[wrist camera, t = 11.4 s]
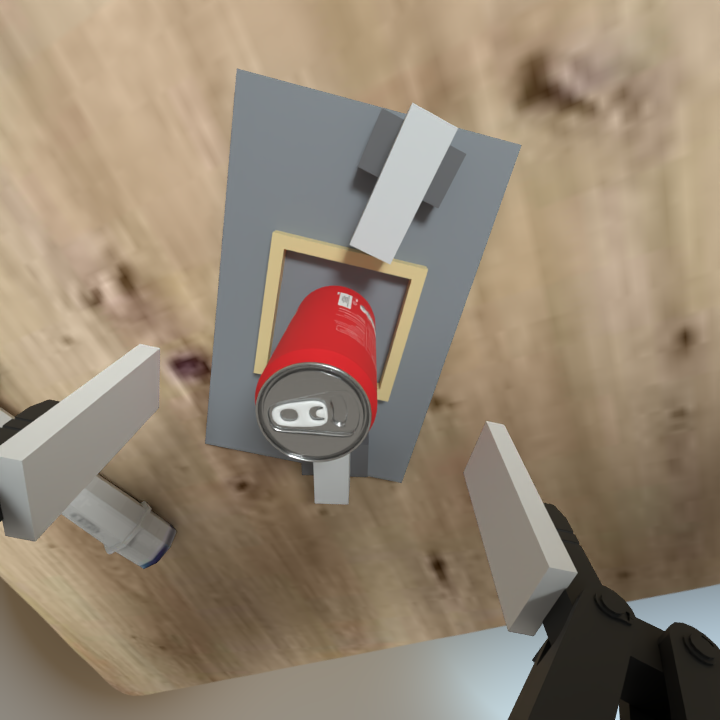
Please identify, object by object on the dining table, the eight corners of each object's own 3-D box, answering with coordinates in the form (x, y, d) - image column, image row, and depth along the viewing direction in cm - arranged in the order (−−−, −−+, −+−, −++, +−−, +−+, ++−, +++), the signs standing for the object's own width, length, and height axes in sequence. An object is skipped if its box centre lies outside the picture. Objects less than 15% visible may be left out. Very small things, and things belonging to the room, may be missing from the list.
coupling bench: (243, 73, 22) (209, 46, 18) (514, 146, 24) (550, 139, 19) (210, 434, 33) (183, 478, 28) (400, 472, 34) (405, 521, 29)
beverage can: (377, 351, 28) (381, 464, 17) (304, 356, 28) (262, 470, 17) (372, 278, 26) (372, 353, 15) (292, 284, 26) (236, 362, 15)
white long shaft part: (127, 579, 35) (-216, 383, 23) (156, 514, 41) (-108, 330, 29) (171, 558, 34) (-168, 339, 22) (195, 494, 39) (-65, 293, 28)
